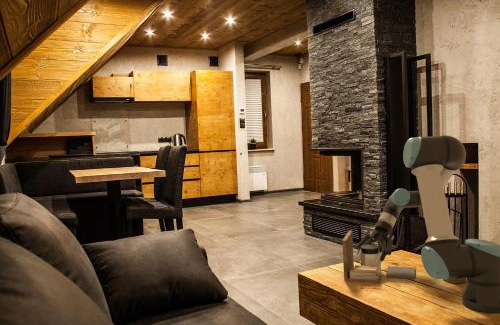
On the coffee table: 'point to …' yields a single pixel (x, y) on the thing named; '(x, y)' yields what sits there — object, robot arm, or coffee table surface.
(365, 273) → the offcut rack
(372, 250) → the jar
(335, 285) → the coffee table surface
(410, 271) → the rubber mat
